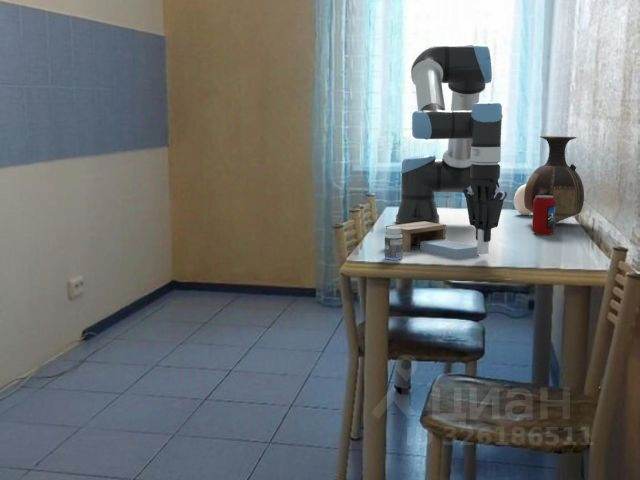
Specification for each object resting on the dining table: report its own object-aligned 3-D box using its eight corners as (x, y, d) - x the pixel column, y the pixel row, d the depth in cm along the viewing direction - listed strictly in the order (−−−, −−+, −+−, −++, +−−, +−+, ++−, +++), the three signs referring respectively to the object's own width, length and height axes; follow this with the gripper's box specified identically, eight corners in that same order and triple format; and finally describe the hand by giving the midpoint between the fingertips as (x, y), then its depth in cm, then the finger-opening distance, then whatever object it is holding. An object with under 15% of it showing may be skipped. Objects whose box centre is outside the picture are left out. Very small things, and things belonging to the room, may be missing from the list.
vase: (546, 230, 245) (550, 137, 240) (507, 223, 263) (510, 135, 258) (599, 225, 255) (604, 135, 250) (559, 218, 272) (562, 134, 267)
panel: (420, 252, 213) (420, 241, 212) (441, 249, 217) (442, 239, 217) (456, 260, 200) (456, 249, 200) (478, 257, 205) (479, 246, 204)
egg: (535, 217, 277) (536, 185, 275) (511, 215, 281) (512, 184, 279) (539, 214, 285) (540, 183, 283) (515, 212, 288) (516, 182, 286)
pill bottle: (383, 257, 204) (383, 226, 202) (400, 256, 204) (400, 225, 203) (386, 260, 199) (386, 228, 198) (403, 260, 200) (404, 228, 198)
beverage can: (555, 235, 236) (556, 197, 234) (532, 235, 237) (534, 197, 235) (553, 232, 242) (554, 194, 240) (531, 231, 244) (532, 194, 242)
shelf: (385, 247, 218) (386, 226, 217) (423, 241, 227) (423, 221, 226) (407, 251, 211) (407, 229, 210) (445, 245, 220) (445, 224, 219)
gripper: (456, 162, 198) (454, 251, 202) (495, 165, 188) (492, 259, 192) (475, 161, 202) (473, 248, 206) (515, 163, 192) (511, 255, 196)
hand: (482, 253), depth 199 cm, fingers closed
